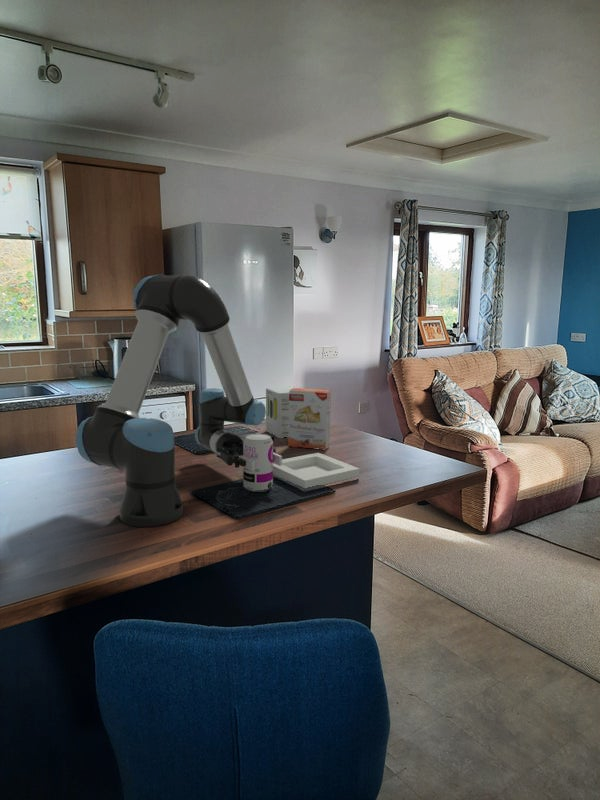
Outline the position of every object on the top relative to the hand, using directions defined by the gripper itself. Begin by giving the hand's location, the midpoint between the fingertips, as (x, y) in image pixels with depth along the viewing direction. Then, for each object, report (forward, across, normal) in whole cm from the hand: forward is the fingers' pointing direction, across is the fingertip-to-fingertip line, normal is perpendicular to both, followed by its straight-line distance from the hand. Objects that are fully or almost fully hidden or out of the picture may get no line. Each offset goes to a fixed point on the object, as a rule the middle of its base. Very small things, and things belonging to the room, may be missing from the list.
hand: (267, 463), depth 155 cm
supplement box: (-53, -43, -9) cm, 69 cm away
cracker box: (-32, -38, -9) cm, 50 cm away
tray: (-5, -19, -8) cm, 21 cm away
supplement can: (-5, 0, -9) cm, 10 cm away
